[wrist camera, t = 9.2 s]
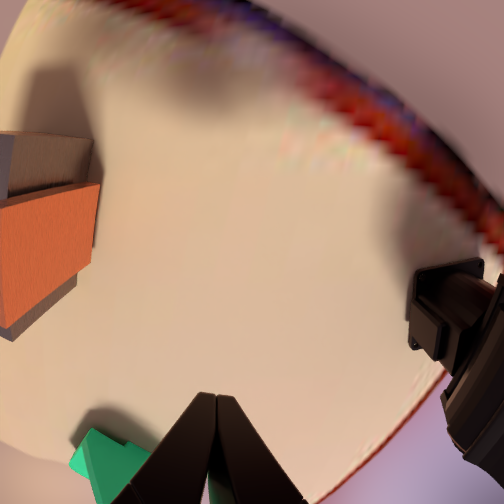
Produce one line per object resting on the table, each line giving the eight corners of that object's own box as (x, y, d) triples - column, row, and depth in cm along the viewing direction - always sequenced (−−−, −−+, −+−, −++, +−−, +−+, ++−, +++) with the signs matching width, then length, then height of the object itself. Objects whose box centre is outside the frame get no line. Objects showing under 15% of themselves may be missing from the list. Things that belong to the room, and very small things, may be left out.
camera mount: (74, 449, 26) (42, 519, 16) (95, 419, 24) (56, 503, 14) (169, 498, 28) (156, 569, 18) (203, 475, 26) (195, 560, 16)
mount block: (93, 139, 18) (15, 135, 10) (76, 285, 20) (12, 342, 12) (35, 132, 17) (-47, 130, 9) (23, 268, 20) (-45, 311, 12)
